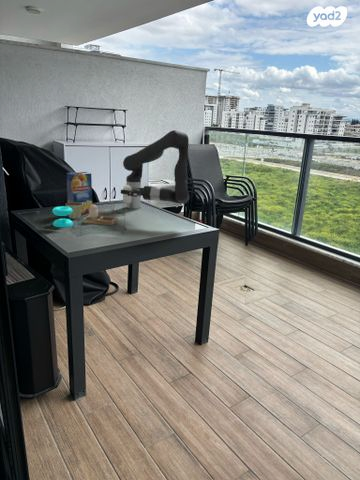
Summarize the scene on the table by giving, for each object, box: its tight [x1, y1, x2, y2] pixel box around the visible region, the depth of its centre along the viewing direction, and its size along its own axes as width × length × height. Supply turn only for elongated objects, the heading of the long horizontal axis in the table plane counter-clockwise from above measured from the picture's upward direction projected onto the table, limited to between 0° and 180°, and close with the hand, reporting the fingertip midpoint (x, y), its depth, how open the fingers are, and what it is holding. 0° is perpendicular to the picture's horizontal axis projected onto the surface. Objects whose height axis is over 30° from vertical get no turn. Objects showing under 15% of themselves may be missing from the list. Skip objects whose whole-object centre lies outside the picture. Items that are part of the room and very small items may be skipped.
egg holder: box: [82, 214, 118, 226], centre depth 202 cm, size 9×17×3 cm, turn 80°
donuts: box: [52, 205, 74, 228], centre depth 193 cm, size 10×10×10 cm
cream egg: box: [122, 184, 131, 204], centre depth 203 cm, size 5×5×9 cm
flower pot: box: [65, 202, 83, 220], centre depth 208 cm, size 9×9×9 cm
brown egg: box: [88, 203, 99, 220], centre depth 201 cm, size 5×5×9 cm
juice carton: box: [66, 171, 93, 215], centre depth 217 cm, size 12×8×24 cm, turn 132°
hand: (122, 190), depth 202 cm, fingers closed on cream egg, 4 cm apart
